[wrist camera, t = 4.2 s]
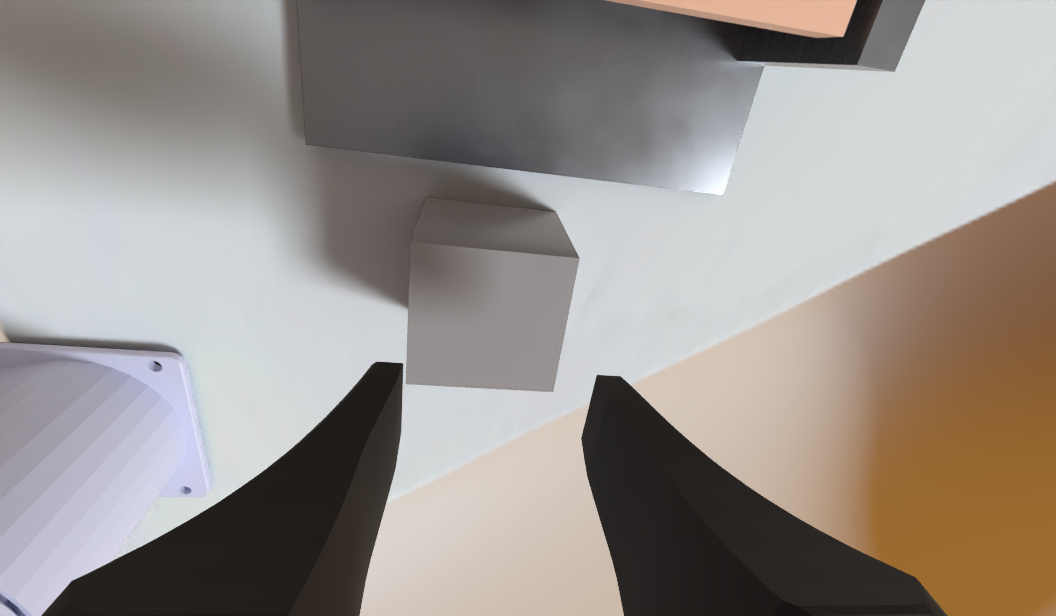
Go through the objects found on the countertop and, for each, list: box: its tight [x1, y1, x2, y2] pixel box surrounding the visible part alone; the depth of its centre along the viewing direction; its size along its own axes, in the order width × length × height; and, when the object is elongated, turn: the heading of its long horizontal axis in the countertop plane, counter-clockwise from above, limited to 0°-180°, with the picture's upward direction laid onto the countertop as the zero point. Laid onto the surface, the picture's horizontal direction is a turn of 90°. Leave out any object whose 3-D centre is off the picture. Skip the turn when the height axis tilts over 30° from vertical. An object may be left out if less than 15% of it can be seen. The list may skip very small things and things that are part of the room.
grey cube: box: [406, 197, 579, 392], centre depth 18 cm, size 5×5×5 cm
